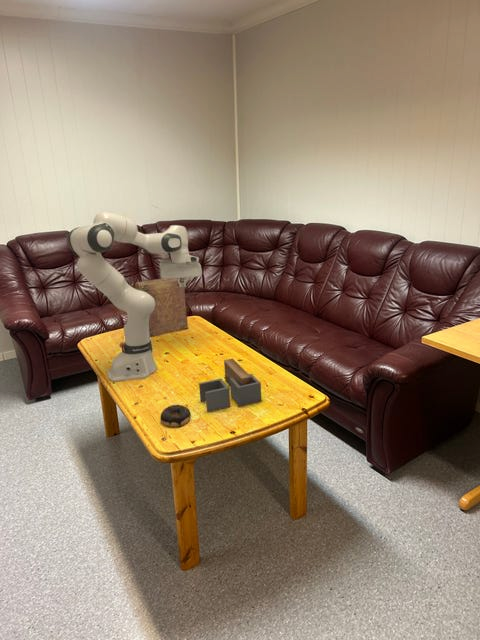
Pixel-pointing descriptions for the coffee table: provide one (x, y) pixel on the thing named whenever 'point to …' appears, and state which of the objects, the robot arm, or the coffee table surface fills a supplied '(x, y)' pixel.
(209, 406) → the end cap
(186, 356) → the coffee table surface
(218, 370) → the coffee table surface
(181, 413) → the donut
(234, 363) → the slat
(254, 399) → the end cap
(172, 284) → the book
